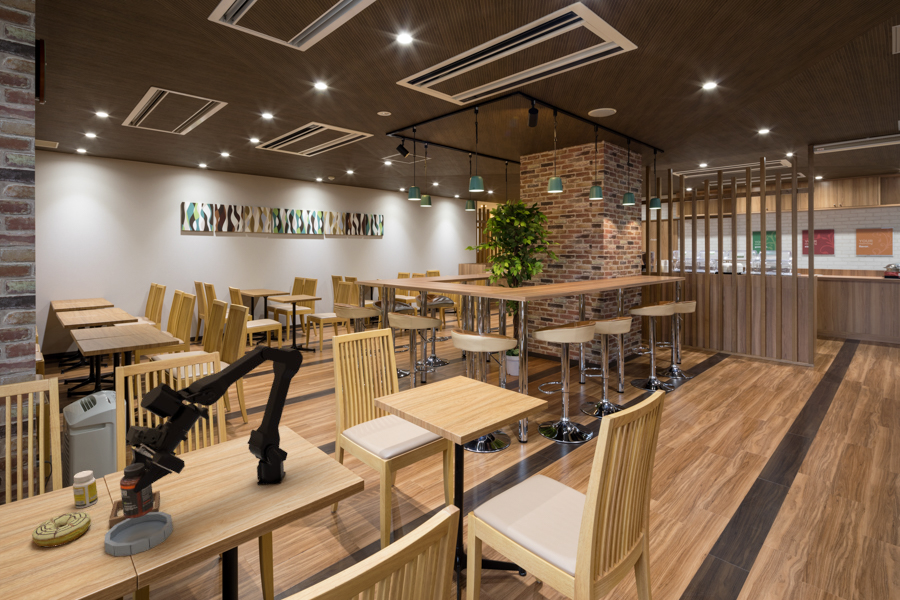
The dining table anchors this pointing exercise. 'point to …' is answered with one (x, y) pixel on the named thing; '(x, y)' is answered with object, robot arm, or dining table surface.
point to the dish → (138, 534)
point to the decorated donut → (61, 529)
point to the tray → (118, 505)
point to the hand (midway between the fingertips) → (129, 488)
